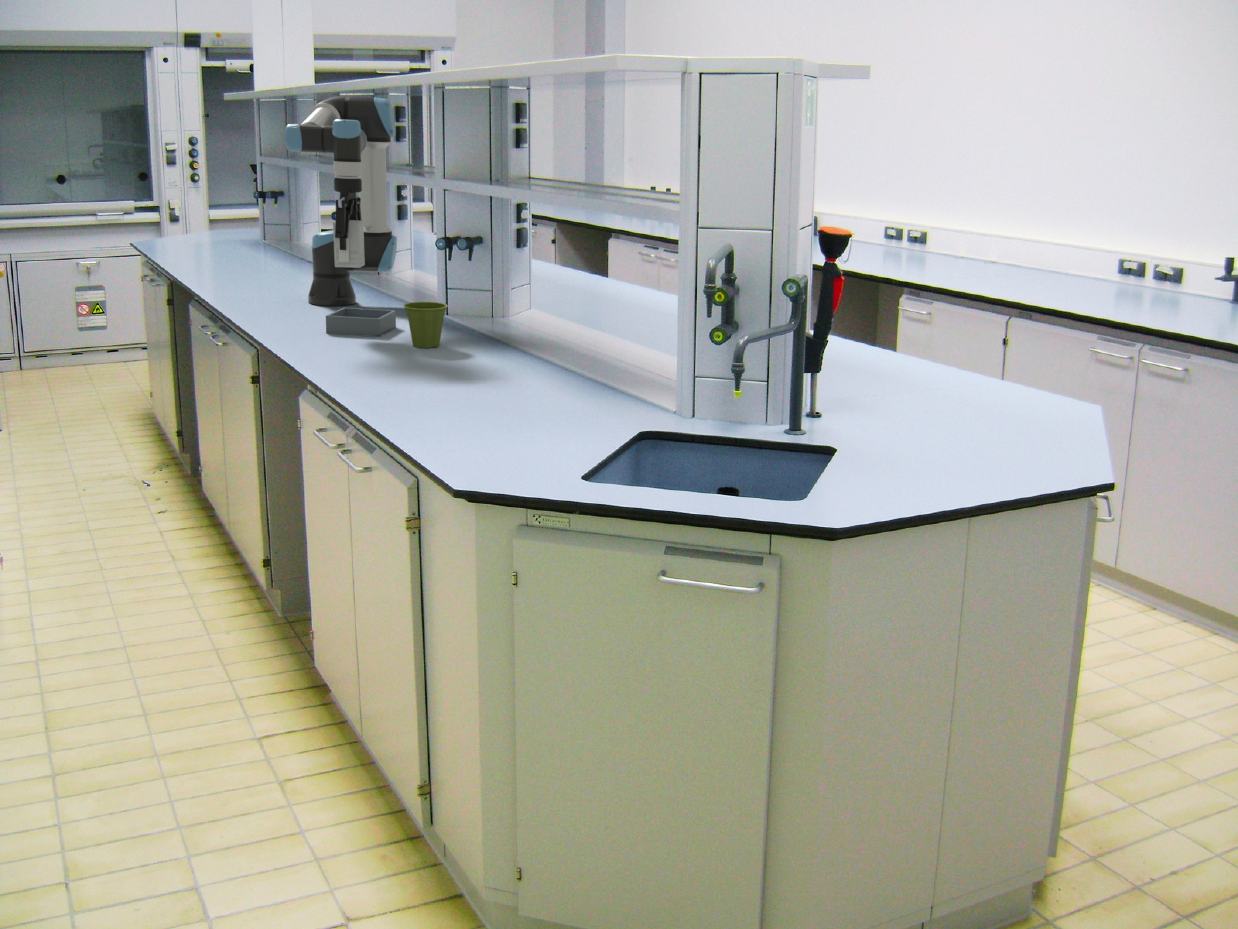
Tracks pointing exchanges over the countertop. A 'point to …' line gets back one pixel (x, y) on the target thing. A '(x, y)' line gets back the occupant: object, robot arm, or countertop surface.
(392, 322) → the grey bin
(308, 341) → the countertop surface
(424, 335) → the plant pot
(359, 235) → the supplement box
